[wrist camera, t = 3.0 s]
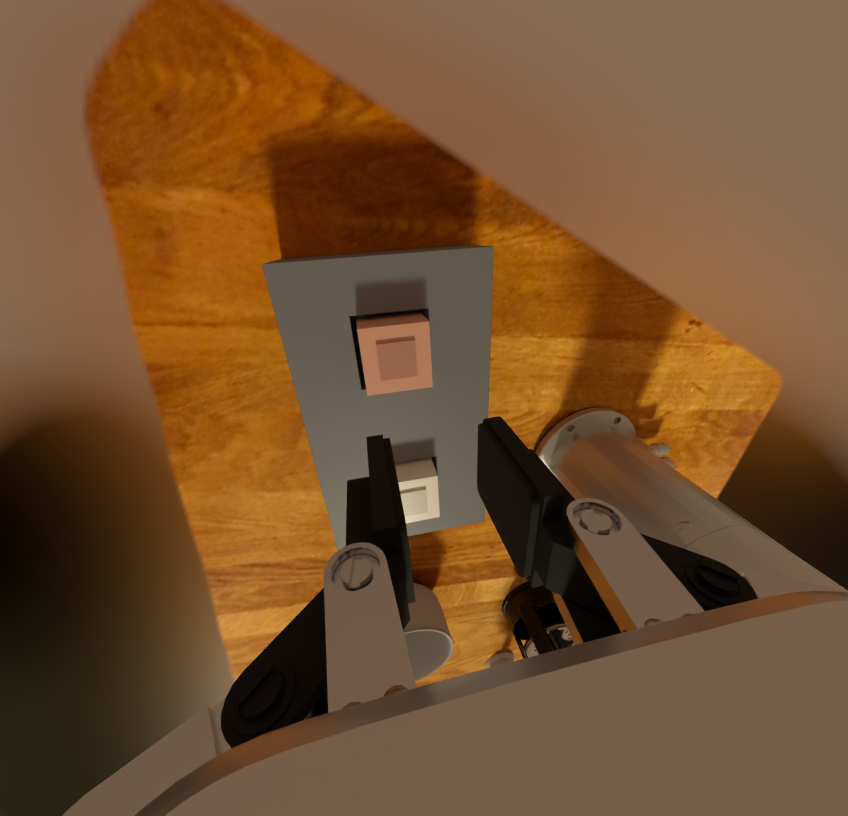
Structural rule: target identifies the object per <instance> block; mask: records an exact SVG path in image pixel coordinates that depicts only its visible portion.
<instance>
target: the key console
mask: <svg viewBox="0 0 848 816" xmlns="http://www.w3.org/2000/svg"><path fill="white" fill-rule="evenodd" d="M493 249H494V246H475V245H459V246H445V247H432V248H419V249H406V250H392V251H379V252H366V253H353V254H339V255H326V256H313V257H300V258H286V259H279V260H275V261H272V262H268V263H265V264H262V267H263V270H264V274H265V278H266V282H267V285H268V289H269V293H270V297H271V300H272V304H273V308H274V312H275V315H276V319H277V323H278V327H279V331H280V334H281V338H282V342H283V346H284V349H285V353H286V357H287V361H288V364H289V368H290V372H291V376H292V379H293V383H294V387H295V391H296V394H297V398H298V402H299V406H300V410H301V413H302V417H303V421H304V425H305V428H306V432H307V436H308V440H309V443H310V447H311V451H312V455H313V458H314V462H315V466H316V470H317V473H318V477H319V481H320V485H321V489H322V492H323V496H324V500H325V504H326V507H327V511H328V515H329V519H330V522H331V526H332V530H333V534H334V537H335V541H336V545H337V549H338V550H340V549H342V548H343V547H345V546H346V507H347V481H348V480H352V479H357V478H363V477H369V468H368V454H367V440H366V437H369V436H375V435H382V434H383V439H384V438H390V442H391V447H392V452H393V457H394V463H398V462H404V461H410V460H416V459H422V458H428V457H431V459H432V462H433V465H434V467H435V470H436V473H437V476H438V493H439V512H440V517H437V518H432V519H427V520H421V521H416V522H411V523H406V528H407V535H408V536H413V535H418V534H423V533H428V532H433V531H438V530H443V529H448V528H453V527H458V526H463V525H468V524H473V523H478V522H483V521H485V505H484V503H483V501H482V499H481V497H480V495H479V493H478V489H477V449H478V424H480V423H483V420H484V419H486V418H488V403H489V373H490V342H491V311H492V280H493ZM416 312H421V313H422V314H423V315H424V316H425V318H426V319H427V320H428V321H429V326H430V345H431V364H432V382H433V387H429V388H422V389H414V390H407V391H400V392H392V393H385V394H378V395H370V396H367V390H366V384H365V378H364V371H363V365H362V358H361V352H360V346H359V339H358V333H357V321H356V319H358V318H368V317H378V316H387V315H397V314H407V313H416Z"/></svg>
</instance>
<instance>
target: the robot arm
mask: <svg viewBox="0 0 848 816" xmlns="http://www.w3.org/2000/svg"><path fill="white" fill-rule="evenodd" d="M366 440H367V454H368V468H369V477H363V478H357V479H352V480H348V481H347V507H346V546H345V547H343V548H342V549H340V550H339V551H337V552H336V553H335V554H334V555H333V556H332V557H331V559H330V560H329V561H328V563H327V565H326V567H325V572H324V588H323V589H322V590H321V591H320V592H319V593H318V594H317V595H316V596H315V597H314V599H313V600H312V601H311V602H310V603H309V604H308V605H307V606H306V607H305V608H304V609H303V610H302V611H301V612H300V613H299V614H298V615H297V616H296V617H295V618H294V619H293V620H292V621H291V622H290V623H289V625H288V626H287V627H286V628H285V629H284V630H283V631H282V632H281V633H280V634H279V635H278V636H277V637H276V638H275V639H274V640H273V641H272V642H271V643H270V644H269V645H268V646H267V647H266V648H265V649H264V650H263V652H262V653H261V654H260V655H259V656H258V657H257V658H256V659H255V660H254V661H253V662H252V663H251V664H250V665H249V666H248V667H247V668H246V669H245V670H244V671H243V672H242V674H241V675H240V676H239V677H238V679H237V680H236V681H235V682H234V684H233V685H232V687H231V689H230V691H229V693H228V695H227V697H226V699H224V700H223V701H222V702H220V703H219V704H218V705H216V706H215V707H214V708H212V709H210V708H209V707H208V706H206V707H205V708H204V709H202V710H201V711H199V712H198V713H197V714H195V715H194V716H193V717H191V718H190V719H188V720H187V721H186V722H184V723H183V724H182V725H180V726H179V727H177V728H176V729H175V730H173V731H172V732H170V733H169V734H168V735H166V736H165V737H164V738H162V739H161V740H160V741H158V742H157V743H155V744H154V745H153V746H151V747H150V748H149V749H147V750H146V751H144V752H143V753H142V754H140V755H139V756H138V757H136V758H135V759H134V760H132V761H131V762H129V763H128V764H127V765H125V766H124V767H123V768H121V769H120V770H118V771H117V772H116V773H114V774H113V775H112V776H110V777H109V778H107V779H106V780H105V781H103V782H102V783H101V784H99V785H98V786H97V787H95V788H94V789H92V790H91V791H90V792H88V793H87V794H86V795H84V796H83V797H82V798H81V799H80V800H79V801H78V802H76V803H75V804H74V805H73V806H72V807H71V808H70V809H69V810H68V811H66V812H65V814H64V815H63V816H848V591H847V590H846V589H844V588H843V587H841V586H840V585H838V584H837V583H836V582H834V581H833V580H831V579H829V578H828V577H827V576H825V575H824V574H822V573H821V572H819V571H818V570H816V569H815V568H813V567H812V566H810V565H809V564H807V563H806V562H804V561H803V560H802V559H800V558H799V557H797V556H796V555H794V554H793V553H791V552H790V551H788V550H787V549H785V548H784V547H783V546H781V545H780V544H778V543H777V542H776V541H774V540H773V539H771V538H770V537H768V536H767V535H766V534H764V533H763V532H762V531H760V530H759V529H757V528H756V527H755V526H753V525H752V524H750V523H749V522H748V521H746V520H745V519H743V518H742V517H741V516H739V515H738V514H736V513H735V512H734V511H732V510H731V509H729V508H728V507H727V506H725V505H724V504H722V503H721V502H720V501H718V500H717V499H715V498H714V497H713V496H711V495H710V494H708V493H707V492H706V491H704V490H703V489H701V488H700V487H699V486H697V485H696V484H694V483H693V482H691V481H690V480H689V479H687V478H686V477H684V476H683V475H682V474H680V473H679V472H677V471H676V470H675V465H674V463H673V461H672V460H671V459H670V458H669V457H667V456H665V457H659V458H658V457H656V456H659V455H664V454H668V453H669V446H668V445H667V444H666V443H664V442H661V443H655V444H651V445H647V444H646V443H645V442H643V441H642V440H640V439H639V438H637V433H636V430H635V427H634V425H633V424H632V422H631V421H630V420H629V419H628V418H627V417H625V416H624V415H623V414H621V413H619V412H617V411H616V410H613V409H609V408H600V407H596V408H590V409H585V410H582V411H579V412H576V413H574V414H572V415H570V416H568V417H566V418H565V419H563V420H562V421H560V422H559V423H558V424H556V425H555V426H554V427H553V428H552V429H551V430H550V431H549V432H548V433H547V434H546V435H545V437H544V438H543V439H542V440H541V442H540V444H539V446H538V447H537V449H536V452H534V451H533V450H531V449H528V448H527V447H526V446H525V445H524V444H523V442H522V441H521V440H520V439H519V438H518V436H517V435H516V434H515V433H514V432H513V431H512V429H511V428H510V427H509V426H508V425H507V423H506V422H505V421H504V420H503V419H502V418H501V417H492V418H486V419H484V420H483V423H480V424H478V449H477V489H478V493H479V495H480V497H481V499H482V501H483V503H484V505H485V507H486V509H487V511H488V513H489V515H490V517H491V519H492V521H493V523H494V525H495V527H496V529H497V531H498V533H499V535H500V537H501V539H502V541H503V543H504V545H505V547H506V549H507V551H508V553H509V555H510V557H511V559H512V561H513V563H514V565H515V567H516V569H517V571H518V573H519V575H520V576H521V577H522V578H523V577H526V578H527V580H528V582H529V584H530V586H531V588H534V587H538V586H543V585H544V586H545V588H546V589H548V590H550V591H552V593H553V597H554V600H555V602H556V604H557V606H558V609H559V611H560V613H561V615H562V617H563V620H564V622H565V624H566V626H567V628H568V631H569V633H570V635H571V637H572V640H573V642H574V644H575V645H574V646H570V647H566V648H563V649H559V650H555V651H551V652H548V653H544V654H540V655H536V656H533V657H529V658H525V659H521V660H518V661H514V662H510V663H506V664H503V665H499V666H495V667H491V668H488V669H484V670H480V671H477V672H473V673H469V674H466V675H462V676H458V677H455V678H451V679H447V680H444V681H440V682H436V683H432V684H429V685H425V686H421V687H418V688H416V684H415V680H414V675H413V671H412V667H411V663H410V658H409V654H408V650H407V645H406V641H405V637H404V633H403V630H404V629H405V627H406V626H407V624H408V623H409V621H410V614H409V606H408V604H409V603H413V602H415V593H414V585H413V577H412V568H411V560H410V552H409V543H408V535H407V528H406V521H405V515H404V510H403V505H402V499H401V494H400V489H399V484H398V478H397V473H396V468H395V463H394V457H393V452H392V447H391V442H390V438H384V439H383V434H382V435H375V436H369V437H366Z"/></svg>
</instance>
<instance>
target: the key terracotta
mask: <svg viewBox="0 0 848 816" xmlns="http://www.w3.org/2000/svg"><path fill="white" fill-rule="evenodd" d="M356 321H357V333H358V339H359V346H360V352H361V358H362V365H363V371H364V378H365V384H366V390H367V396H370V395H378V394H385V393H392V392H400V391H407V390H414V389H422V388H429V387H433V382H432V364H431V345H430V326H429V321H428V320H427V319H426V318H425V316H424V315H423V314H422V313H421V312H416V313H407V314H397V315H387V316H378V317H368V318H358V319H356Z"/></svg>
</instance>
